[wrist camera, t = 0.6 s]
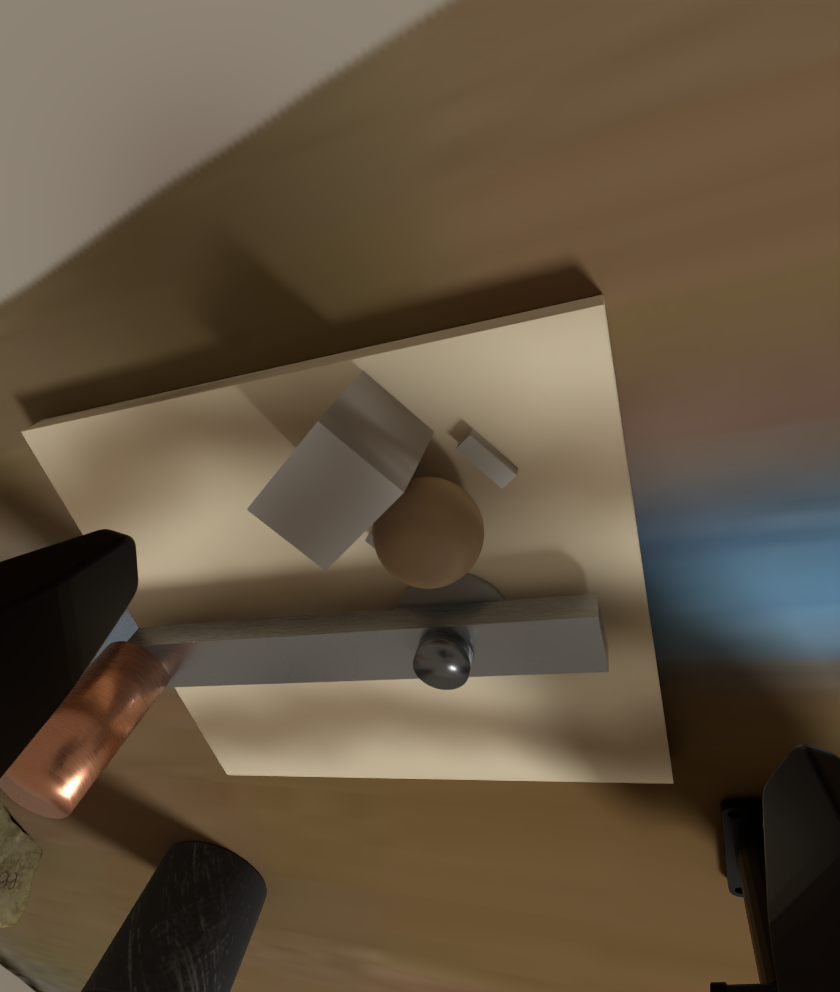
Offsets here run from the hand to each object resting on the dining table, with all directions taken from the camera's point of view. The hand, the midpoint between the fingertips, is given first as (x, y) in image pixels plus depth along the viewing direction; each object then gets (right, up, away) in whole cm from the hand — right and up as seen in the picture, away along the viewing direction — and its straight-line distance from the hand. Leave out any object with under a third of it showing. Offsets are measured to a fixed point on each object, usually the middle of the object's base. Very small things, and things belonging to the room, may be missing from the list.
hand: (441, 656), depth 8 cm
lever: (-4, -4, +17) cm, 18 cm away
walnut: (0, +2, +14) cm, 14 cm away
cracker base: (-3, -2, +18) cm, 18 cm away
